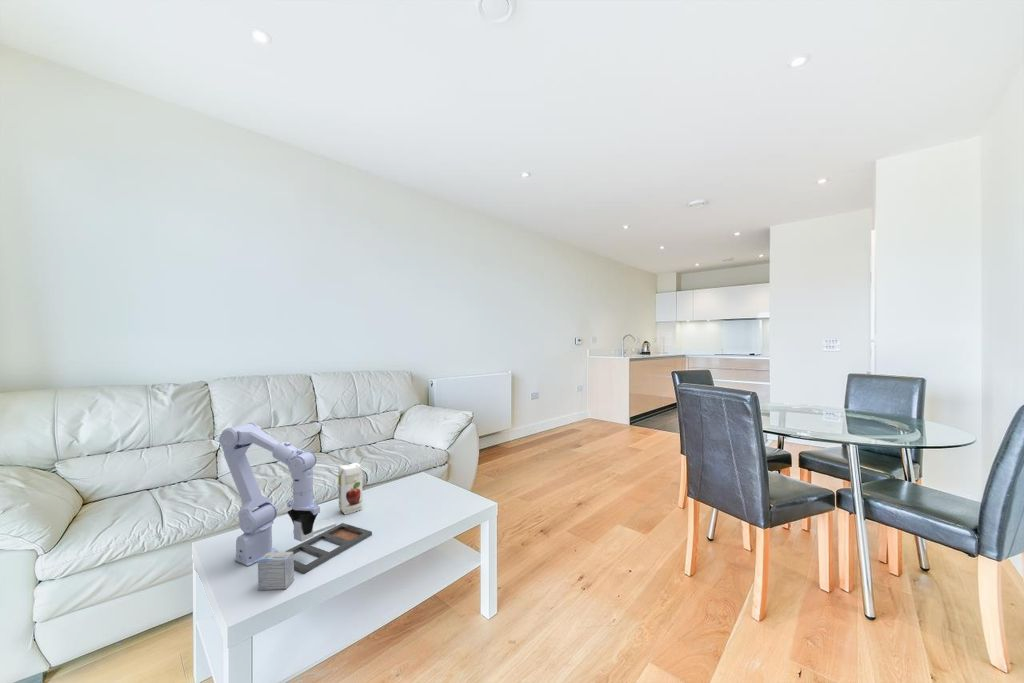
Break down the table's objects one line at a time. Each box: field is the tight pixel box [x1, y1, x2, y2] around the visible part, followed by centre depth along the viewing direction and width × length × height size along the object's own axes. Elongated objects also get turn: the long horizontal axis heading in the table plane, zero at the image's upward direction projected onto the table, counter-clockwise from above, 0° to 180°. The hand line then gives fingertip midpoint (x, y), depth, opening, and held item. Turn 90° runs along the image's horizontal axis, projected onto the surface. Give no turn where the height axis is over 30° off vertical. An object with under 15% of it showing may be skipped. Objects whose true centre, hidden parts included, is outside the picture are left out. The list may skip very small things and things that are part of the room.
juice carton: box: [337, 462, 364, 516], centre depth 158 cm, size 8×9×19 cm
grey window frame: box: [284, 522, 373, 575], centre depth 128 cm, size 26×16×1 cm, turn 152°
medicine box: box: [257, 551, 295, 591], centre depth 108 cm, size 8×4×9 cm, turn 92°
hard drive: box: [313, 517, 337, 535], centre depth 142 cm, size 2×8×12 cm
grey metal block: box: [293, 518, 314, 543], centre depth 121 cm, size 4×4×6 cm
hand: (303, 532), depth 121 cm, fingers closed on grey metal block, 4 cm apart
